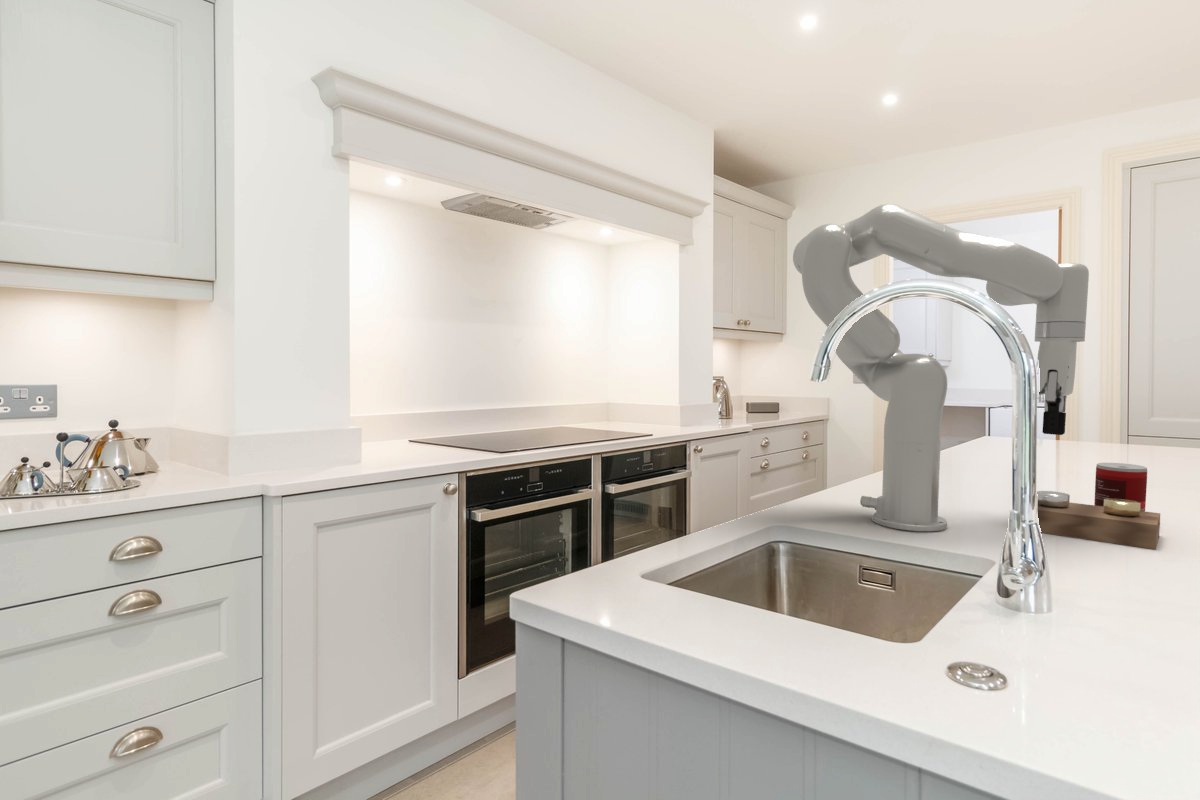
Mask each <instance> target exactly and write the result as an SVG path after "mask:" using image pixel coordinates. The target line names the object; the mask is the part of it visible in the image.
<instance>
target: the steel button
mask: <svg viewBox="0 0 1200 800" xmlns="http://www.w3.org/2000/svg"><path fill="white" fill-rule="evenodd" d="M1037 494H1038V504H1040V505H1044V507H1052V508H1060V509H1061V507H1069V502H1070V496H1071V495H1070V494H1069V493H1065V492H1063V491H1062V492H1061V491H1054V490H1053V491H1052V490H1037V491H1036V495H1037Z"/></svg>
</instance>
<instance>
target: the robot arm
mask: <svg viewBox="0 0 1200 800" xmlns="http://www.w3.org/2000/svg"><path fill="white" fill-rule="evenodd" d="M883 255H886V256H888V257H890V258H894V259H895V260H899V261H900V262H903V263H905V264H907V265H910V266H912V267H915V268H917V269H919V270H922V271H924V272H926V273H928V274H931V275H935V276H940V277H948V278H967V279H968V278H970V279H974V280H975V279H976V280H981V281H986V284H985V285H986V286H985V289H986V293H987V295H988V297H989V299H991V298H992V299H993V300H994V301H996V302H997V303H996V302H995V303H996V304H998V303H999V304H998V305H1001V306H1004V307H1005V306H1008V307H1014V306H1023V305H1036V310H1035V311H1036V312H1035V327H1034V329H1035V330H1034V342H1039V346H1038V352H1037V358H1036V360H1037V359H1038V360H1039V368H1040V392H1039V395H1038V396H1042V395H1044V411H1043V414H1042V415H1043V417H1042V431H1041V432H1042V433H1043V435H1054V436H1055V435H1056V436H1062V435H1065V433H1066V421H1067V420H1066V418H1067V412H1066V407H1067V406H1066V405H1067V398H1068V397H1067V396H1070V395H1071V394H1073V392H1074V391H1073V390H1074V386H1075V376H1076V365H1077V364H1076V363H1077V362H1076V361H1077V349H1078V348H1077V345H1078V342H1079V343H1080V342H1085V341H1086V340H1085V339H1086V326H1087V309H1088V293H1089V292H1088V291H1089V280H1090V277H1089V276H1090V275H1089V274H1090V273H1089V268H1088V267H1087V266H1086V265H1085V264H1082V263H1075V262H1074V263H1073V262H1071V263H1069V262H1068V263H1057V262H1056V261H1055V260H1054V259H1052V258H1051V257H1049V256H1047V255H1046V254H1043V253H1041V252H1038V251H1036V250H1033V249H1031V248H1029V247H1027V246H1024V245H1022V244H1018V243H1015V242H1012V241H1009V240H1005V239H1000V238H996V237H990V236H987V235H981V234H978V233H971V232H967V231H961V230H958V229H957V228H952V227H950V226H948V225H947V224H944V223H941V222H938V221H936V220H934V219H931V218H929V217H927V216H924V215H922V214H919V213H917V212H914V211H912V210H910V209H908V208H905V207H903V206H900V205H897V204H892V203H884V204H880V205H877V206H875V207H873V208H872V209H870V210H869V211H867V212H865V213H864V214H863V215H861V216H859V217H857V218H855V219H852V220H851V221H848V222H845V223H843V224H840V225H838V224H837V223H826V224H822V225H820V226H818V227H816V228H814V229H813V230H811V231H810V232H809V233H808V234H806V236H804V237H802V239H801V240H799V242H798V243H797V244H796V245H795V247H794V250H793V254H792V262H793V266H794V267H795V269H796V271H797V272H799V274H801V280H802V282H801V283H802V287H803V292H804V296H805V299H806V302H807V303H808V305H809V306H810V309H811V310H812V311H813V313H814V314H815V315H816V316H817V317H818V318H819V319H820V321H821V322H822V323H823V324H824V325H825V326H826V328H828V326H829V324H830V323H831V322H832V321H833V320H834V318H835V317H836V316H837V315H838V314H839V313H840V312H841V311H842V310H843V309H844V308H845V307H846V306H847V305H849V304H850V303H851V302H852V301H854V300H855V299H856V298H858V297H860V296H861V295H863V294H864V293H863V292H862V291H861V290H860V288H858V286H857V285H856V283H855V282H854V280H853V278H852V276H851V272H850V268H851V267H854V266H857V265H860V264H862V263H865V262H867V261H869V260H872V259H874V258H877V257H879V256H883ZM992 299H991V300H992ZM993 300H992V301H993ZM994 301H993V302H994ZM900 344H901V335H900V333H899V330H898V327H896V325H895V324H894V323H893V322H892V320H890V319H889V318H888V317H887V316H886V315H885V314H884V313H883V312H882V311H881V310H880V309H879V308H878V309H876V310H874V311H872V312H870V313H868V314H866V315H864V316H863V317H861V318H860V319H859V320H858V321H857V322H855V323H854V324H853V325H852V327H851V328H850V329H849V330H848V331H847V332H846V333H845V335H844V336H843V338H842V340H841V341H840V343H839V345H838V347H837V349H836V352H835V354H836V355H837V357H838V359H839V360H840V361H841V362H842V363H843V364H844V366H845V367H847V368H848V369H849V370H850V371H851V372H852V374H854V375H855V376H856V377H857V379H859V380H860V381H861V382H862V384H864V385H865V386H866V387H867V388H868V389H869V390H870V391H871V392H872V393H874V395H876V396H877V397H878V398H880V399H882V400H884V401H886V402H888V404H887V407H886V411H885V417H884V425H883V456H882V457H883V459H882V460H883V461H882V462H883V463H882V464H883V465H882V489H881V490H882V491H881V495H880V496H877V497H872V496H869V495H868V496H867V495H861V497H860V500H859V501H860V502H859V504H860V505H861V506H862V508H871V509H873V510H875V511H876V512H874V513H872V521H873V522H874V523H876V524H878V525H880V526H883V527H887V528H891V529H895V530H903V531H912V532H913V531H914V532H937V531H938V532H939V531H943V530H945V529H947V528H948V521H947V520H946V519H944V518H943V517H941V516H938V515H939V492H940V465H941V463H940V462H941V436H942V430H941V429H942V419H943V412H944V406H945V401H946V398H947V391H948V377H947V373H946V370H945V368H944V366H943V365H942V364H941V363H940V362H939V361H938V360H937V359H935V358H934V357H932V356H930V355H927V354H923V353H903V352H902V351H901V350H900V349H899V347H900Z"/></svg>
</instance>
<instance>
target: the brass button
mask: <svg viewBox="0 0 1200 800" xmlns="http://www.w3.org/2000/svg"><path fill="white" fill-rule="evenodd" d="M1103 511H1104V512H1107V513H1111V514H1112V515H1116V516H1124V517H1131V516H1139V515H1140V503H1139V502H1136V501H1132V500H1125V499H1113V498H1108V499H1104V509H1103Z"/></svg>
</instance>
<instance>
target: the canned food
mask: <svg viewBox="0 0 1200 800" xmlns="http://www.w3.org/2000/svg"><path fill="white" fill-rule="evenodd" d="M1094 483H1095V484H1094V485H1095V486H1094V503H1093V505H1095V506H1103V507H1104V499H1108V498H1113V499H1125V500H1132V501H1136V502H1139V503H1140V511H1145V512H1146V504H1147V503H1146V501H1147V486H1148V485H1147V484H1148V467H1147V466H1143V465H1139V464H1132V463H1123V462H1122V463H1120V462H1098V463H1096V467H1095V482H1094Z"/></svg>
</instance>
